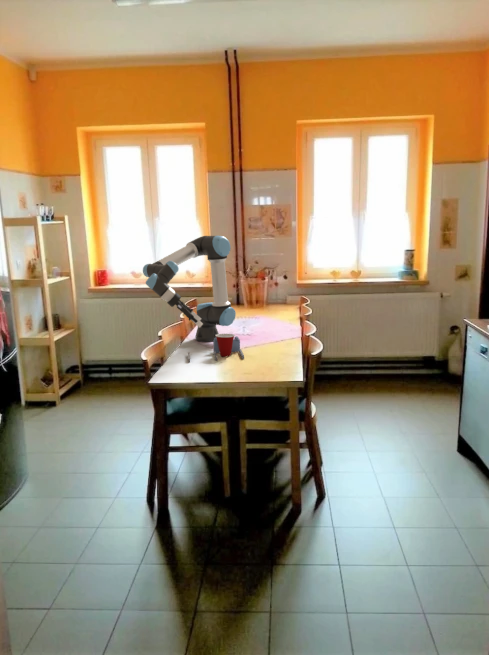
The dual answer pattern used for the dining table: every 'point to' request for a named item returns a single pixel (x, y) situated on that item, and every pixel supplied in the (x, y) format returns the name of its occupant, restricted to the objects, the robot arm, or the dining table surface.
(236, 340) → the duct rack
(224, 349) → the plastic cup
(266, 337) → the dining table surface
